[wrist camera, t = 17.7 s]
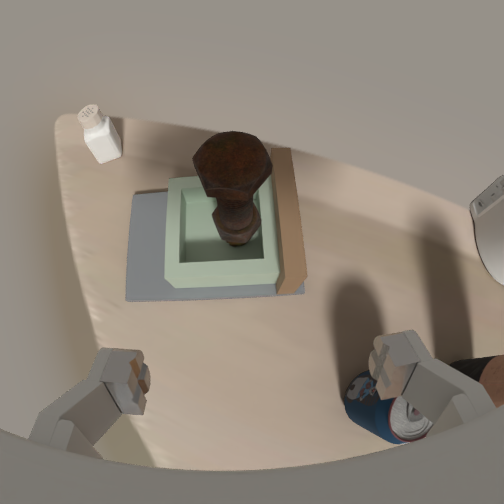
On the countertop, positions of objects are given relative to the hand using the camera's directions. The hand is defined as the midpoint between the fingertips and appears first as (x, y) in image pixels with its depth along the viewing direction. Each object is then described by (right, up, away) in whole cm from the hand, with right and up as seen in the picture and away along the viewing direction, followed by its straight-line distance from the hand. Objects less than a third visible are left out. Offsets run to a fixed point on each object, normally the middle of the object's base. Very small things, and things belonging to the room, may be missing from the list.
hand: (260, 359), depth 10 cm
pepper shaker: (-22, +19, +32) cm, 43 cm away
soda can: (+14, -14, +22) cm, 29 cm away
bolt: (-2, +5, +25) cm, 26 cm away
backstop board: (-5, +5, +28) cm, 28 cm away
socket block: (-4, +5, +27) cm, 27 cm away
